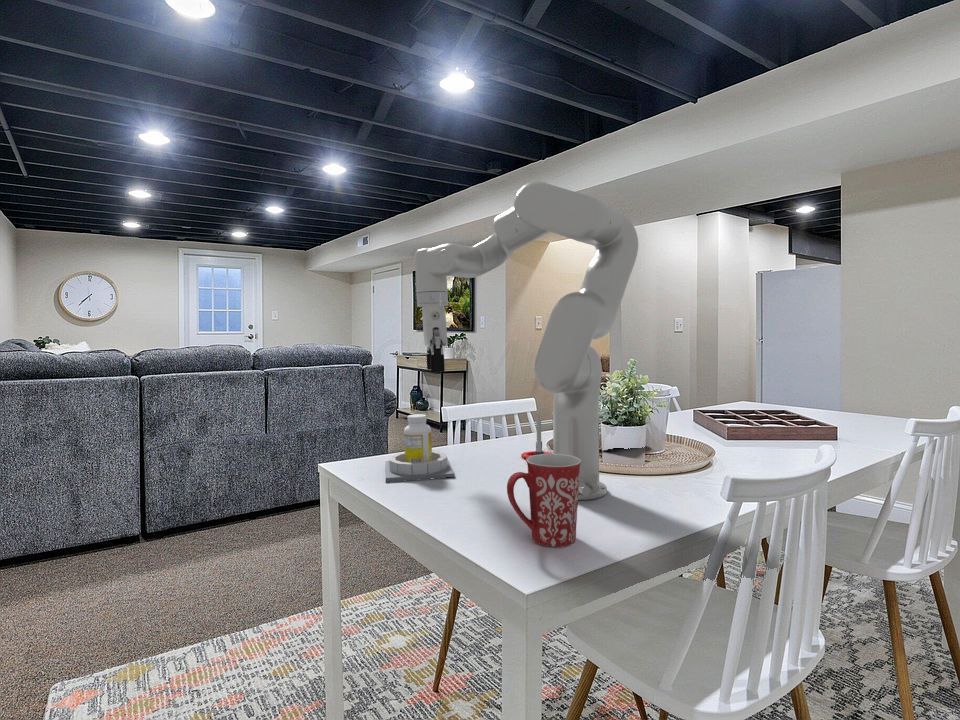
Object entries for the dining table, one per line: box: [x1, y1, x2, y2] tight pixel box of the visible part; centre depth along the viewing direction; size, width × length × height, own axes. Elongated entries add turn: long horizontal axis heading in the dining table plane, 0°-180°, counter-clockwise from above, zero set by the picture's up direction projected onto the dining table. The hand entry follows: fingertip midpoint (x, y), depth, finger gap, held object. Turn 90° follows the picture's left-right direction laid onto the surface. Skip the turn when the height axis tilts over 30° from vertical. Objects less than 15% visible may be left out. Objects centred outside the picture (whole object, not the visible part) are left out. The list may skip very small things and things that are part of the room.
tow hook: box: [520, 411, 553, 460], centre depth 149 cm, size 8×13×9 cm
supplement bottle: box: [403, 413, 433, 463], centre depth 138 cm, size 7×7×13 cm
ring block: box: [384, 450, 456, 482], centre depth 138 cm, size 16×16×4 cm
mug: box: [506, 453, 581, 548], centre depth 92 cm, size 13×9×14 cm
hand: (435, 370), depth 137 cm, fingers open, 9 cm apart
